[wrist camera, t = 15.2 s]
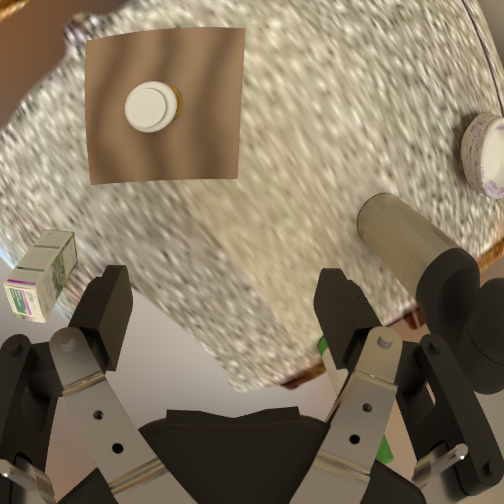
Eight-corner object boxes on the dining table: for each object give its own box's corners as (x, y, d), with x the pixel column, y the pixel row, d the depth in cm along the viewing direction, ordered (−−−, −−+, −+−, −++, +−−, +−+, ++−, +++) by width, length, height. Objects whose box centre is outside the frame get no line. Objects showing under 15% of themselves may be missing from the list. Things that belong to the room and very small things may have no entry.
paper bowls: (498, 119, 37) (527, 129, 30) (487, 186, 45) (512, 202, 38) (455, 100, 35) (488, 108, 28) (443, 180, 43) (472, 198, 36)
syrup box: (44, 229, 37) (0, 283, 25) (75, 231, 38) (34, 289, 26) (50, 259, 40) (12, 317, 28) (79, 262, 41) (46, 325, 29)
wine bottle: (351, 322, 57) (412, 447, 32) (350, 344, 61) (401, 459, 36) (316, 333, 57) (367, 466, 32) (317, 355, 61) (361, 475, 36)
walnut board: (244, 30, 28) (245, 28, 27) (236, 176, 38) (237, 178, 37) (90, 42, 25) (86, 41, 24) (94, 182, 35) (91, 184, 34)
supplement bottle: (176, 128, 33) (165, 141, 24) (136, 120, 31) (112, 131, 23) (188, 88, 30) (181, 86, 22) (147, 79, 29) (125, 76, 20)
